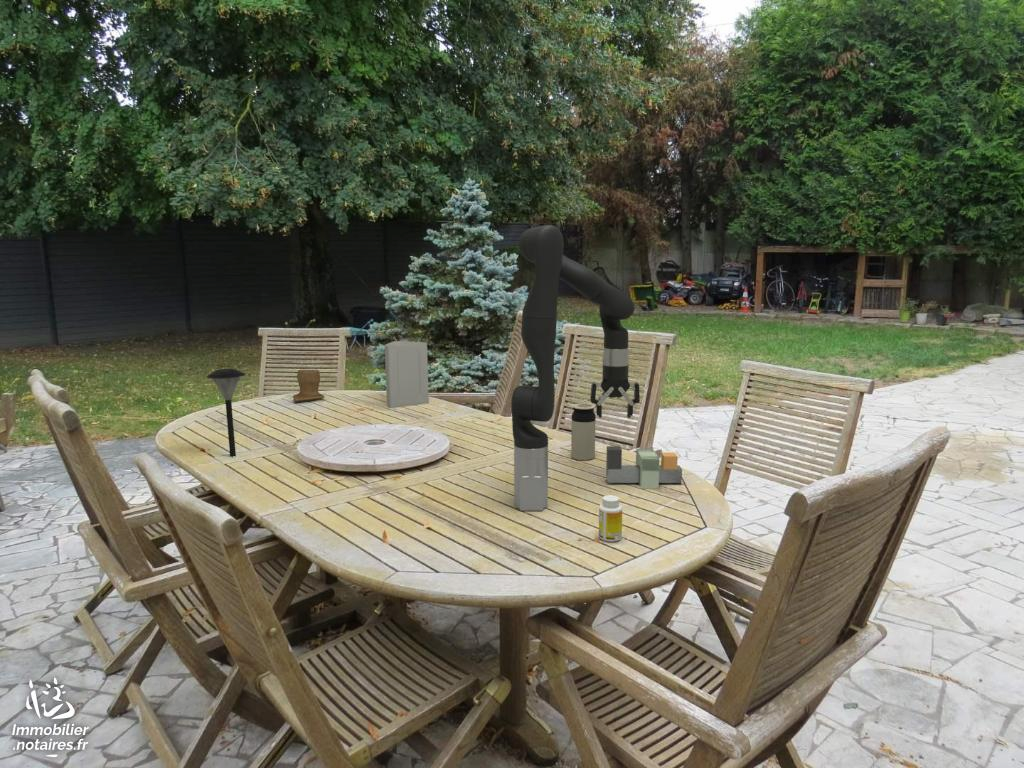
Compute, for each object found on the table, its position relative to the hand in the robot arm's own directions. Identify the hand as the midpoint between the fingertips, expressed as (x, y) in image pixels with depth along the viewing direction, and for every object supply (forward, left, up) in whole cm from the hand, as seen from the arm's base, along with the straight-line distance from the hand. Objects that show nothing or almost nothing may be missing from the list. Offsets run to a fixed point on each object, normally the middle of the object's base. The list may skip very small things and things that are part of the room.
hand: (614, 417), depth 204 cm
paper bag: (+113, +83, -21) cm, 141 cm away
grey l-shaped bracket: (0, -9, -20) cm, 22 cm away
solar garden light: (+27, +127, -20) cm, 131 cm away
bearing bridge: (0, -10, -20) cm, 23 cm away
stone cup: (+119, +130, -21) cm, 177 cm away
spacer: (0, -17, -15) cm, 23 cm away
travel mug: (+26, +7, -20) cm, 34 cm away
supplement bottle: (-41, +6, -21) cm, 46 cm away
